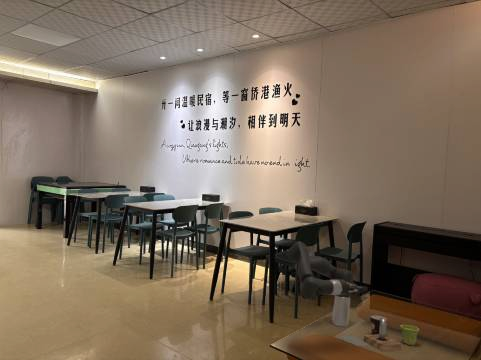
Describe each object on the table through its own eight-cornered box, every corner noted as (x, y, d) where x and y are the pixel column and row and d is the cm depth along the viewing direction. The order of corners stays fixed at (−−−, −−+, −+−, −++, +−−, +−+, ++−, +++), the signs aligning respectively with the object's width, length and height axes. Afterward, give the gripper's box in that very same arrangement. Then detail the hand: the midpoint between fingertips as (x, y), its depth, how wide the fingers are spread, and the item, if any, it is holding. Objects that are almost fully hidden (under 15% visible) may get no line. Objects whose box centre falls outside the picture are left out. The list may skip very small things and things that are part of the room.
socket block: (363, 342, 202) (363, 335, 202) (380, 340, 207) (380, 334, 207) (383, 352, 189) (383, 345, 190) (400, 350, 194) (401, 343, 195)
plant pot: (415, 348, 200) (416, 331, 201) (397, 342, 206) (398, 326, 207) (420, 344, 207) (421, 328, 208) (403, 339, 213) (403, 323, 214)
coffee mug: (387, 339, 210) (388, 321, 211) (370, 337, 212) (372, 318, 213) (383, 333, 222) (384, 315, 222) (368, 330, 223) (369, 313, 224)
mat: (337, 337, 206) (337, 336, 206) (351, 336, 210) (351, 335, 210) (355, 346, 193) (355, 346, 193) (370, 345, 198) (370, 344, 198)
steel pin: (376, 345, 199) (378, 318, 200) (381, 344, 200) (383, 318, 201) (381, 347, 196) (383, 320, 197) (386, 347, 198) (388, 319, 198)
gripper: (326, 291, 197) (351, 291, 203) (345, 298, 184) (370, 297, 191) (328, 276, 197) (352, 277, 204) (346, 282, 184) (371, 282, 191)
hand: (361, 287), depth 197 cm, fingers open, 8 cm apart
